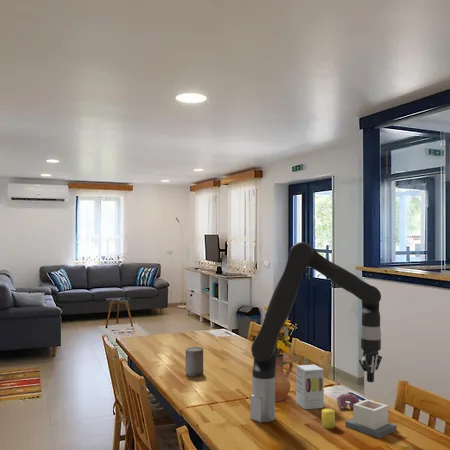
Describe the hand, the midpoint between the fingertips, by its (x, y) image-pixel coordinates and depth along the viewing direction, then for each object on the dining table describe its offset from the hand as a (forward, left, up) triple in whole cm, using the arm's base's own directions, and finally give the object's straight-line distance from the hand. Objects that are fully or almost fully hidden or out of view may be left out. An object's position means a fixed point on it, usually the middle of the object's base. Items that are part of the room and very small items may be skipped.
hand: (370, 381), depth 188 cm
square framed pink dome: (0, 0, -18) cm, 18 cm away
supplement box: (+2, +32, -18) cm, 37 cm away
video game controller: (+12, +19, -18) cm, 29 cm away
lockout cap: (-11, +12, -18) cm, 24 cm away
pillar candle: (-8, +104, -18) cm, 106 cm away
